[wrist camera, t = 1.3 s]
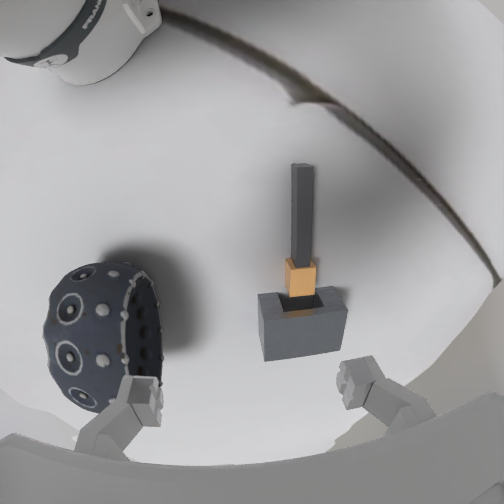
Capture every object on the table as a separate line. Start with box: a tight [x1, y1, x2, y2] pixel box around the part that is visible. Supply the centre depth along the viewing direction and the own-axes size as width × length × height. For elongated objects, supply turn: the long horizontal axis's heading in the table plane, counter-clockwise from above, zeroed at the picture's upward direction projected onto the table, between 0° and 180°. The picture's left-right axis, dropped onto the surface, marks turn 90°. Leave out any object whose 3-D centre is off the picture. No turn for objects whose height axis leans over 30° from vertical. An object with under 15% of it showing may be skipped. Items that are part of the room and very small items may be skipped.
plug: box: [285, 164, 316, 297], centre depth 38 cm, size 18×4×3 cm, turn 2°
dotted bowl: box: [43, 262, 164, 413], centre depth 32 cm, size 11×20×20 cm, turn 179°
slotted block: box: [258, 286, 348, 362], centre depth 43 cm, size 8×12×6 cm, turn 92°
